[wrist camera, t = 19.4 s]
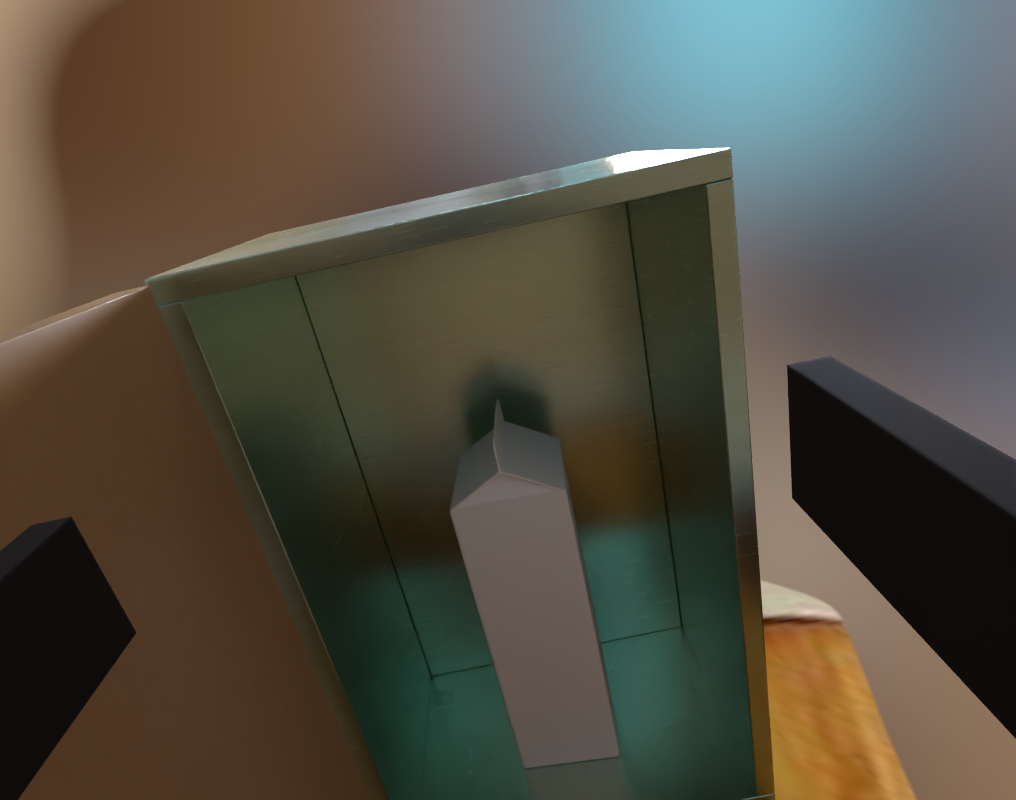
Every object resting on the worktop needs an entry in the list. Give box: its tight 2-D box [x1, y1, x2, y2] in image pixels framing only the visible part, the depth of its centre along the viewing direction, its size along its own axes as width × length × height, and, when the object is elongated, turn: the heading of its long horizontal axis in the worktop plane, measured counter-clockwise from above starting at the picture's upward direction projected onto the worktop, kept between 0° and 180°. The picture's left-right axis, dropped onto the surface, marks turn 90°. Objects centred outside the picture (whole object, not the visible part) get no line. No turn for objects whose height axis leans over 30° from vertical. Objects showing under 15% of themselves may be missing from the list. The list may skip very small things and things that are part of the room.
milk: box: [450, 399, 620, 768], centre depth 36 cm, size 6×6×22 cm
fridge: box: [145, 148, 775, 800], centre depth 34 cm, size 14×21×34 cm, turn 93°
